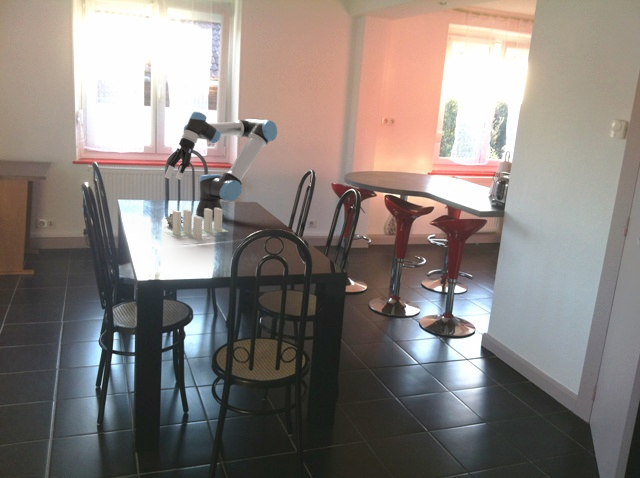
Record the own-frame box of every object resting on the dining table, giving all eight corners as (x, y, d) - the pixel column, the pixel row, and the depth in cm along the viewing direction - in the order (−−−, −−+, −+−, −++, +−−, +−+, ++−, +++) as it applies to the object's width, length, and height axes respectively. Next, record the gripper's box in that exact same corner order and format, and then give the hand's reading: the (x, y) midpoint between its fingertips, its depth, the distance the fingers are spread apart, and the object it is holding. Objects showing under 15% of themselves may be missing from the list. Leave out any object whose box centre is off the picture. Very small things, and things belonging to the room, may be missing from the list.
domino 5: (217, 229, 299) (217, 207, 297) (221, 231, 295) (222, 209, 293) (213, 229, 298) (214, 207, 295) (218, 231, 294) (218, 209, 292)
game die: (172, 236, 298) (163, 222, 291) (169, 226, 304) (160, 213, 298) (188, 227, 299) (180, 213, 293) (184, 218, 306) (176, 204, 299)
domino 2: (186, 231, 289) (187, 209, 287) (191, 233, 285) (191, 211, 283) (183, 231, 288) (183, 209, 285) (187, 234, 284) (188, 211, 282)
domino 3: (196, 239, 280) (197, 216, 277) (201, 241, 276) (202, 218, 274) (193, 239, 279) (193, 216, 276) (197, 241, 275) (198, 218, 272)
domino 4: (207, 229, 296) (207, 208, 293) (212, 232, 292) (212, 210, 290) (203, 230, 295) (204, 208, 292) (208, 232, 291) (208, 210, 288)
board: (220, 229, 303) (220, 227, 302) (229, 233, 296) (229, 231, 296) (164, 234, 285) (164, 232, 284) (172, 238, 278) (172, 236, 277)
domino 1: (176, 232, 286) (176, 210, 283) (180, 234, 282) (181, 212, 280) (172, 232, 285) (172, 210, 282) (176, 235, 281) (177, 212, 278)
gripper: (172, 137, 310) (156, 174, 307) (193, 136, 290) (176, 175, 287) (184, 144, 314) (168, 180, 311) (205, 143, 294) (189, 182, 291)
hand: (172, 178), depth 299 cm, fingers open, 13 cm apart
